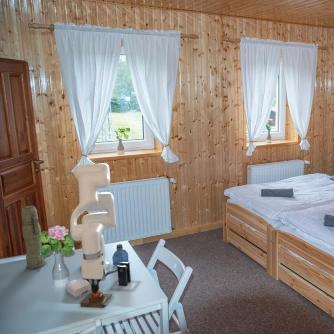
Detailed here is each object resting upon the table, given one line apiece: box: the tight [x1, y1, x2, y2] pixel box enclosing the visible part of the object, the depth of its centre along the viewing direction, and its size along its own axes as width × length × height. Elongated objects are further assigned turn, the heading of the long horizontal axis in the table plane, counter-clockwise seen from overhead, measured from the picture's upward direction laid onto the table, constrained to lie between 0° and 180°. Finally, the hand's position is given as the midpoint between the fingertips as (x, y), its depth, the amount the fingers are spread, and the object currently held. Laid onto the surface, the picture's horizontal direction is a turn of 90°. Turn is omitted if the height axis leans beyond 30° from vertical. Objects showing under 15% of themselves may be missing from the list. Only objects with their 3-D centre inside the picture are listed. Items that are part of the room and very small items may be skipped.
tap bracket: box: [116, 261, 132, 287], centre depth 195 cm, size 12×9×12 cm
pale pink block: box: [66, 277, 92, 298], centre depth 192 cm, size 5×9×15 cm
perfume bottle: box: [111, 243, 130, 266], centre depth 218 cm, size 6×6×12 cm
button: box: [91, 289, 101, 297], centre depth 181 cm, size 4×4×2 cm
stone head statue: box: [20, 204, 46, 270], centre depth 216 cm, size 9×12×35 cm
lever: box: [105, 264, 128, 278], centre depth 195 cm, size 12×5×2 cm, turn 83°
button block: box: [79, 290, 113, 309], centre depth 181 cm, size 11×9×4 cm
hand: (95, 291), depth 180 cm, fingers closed
